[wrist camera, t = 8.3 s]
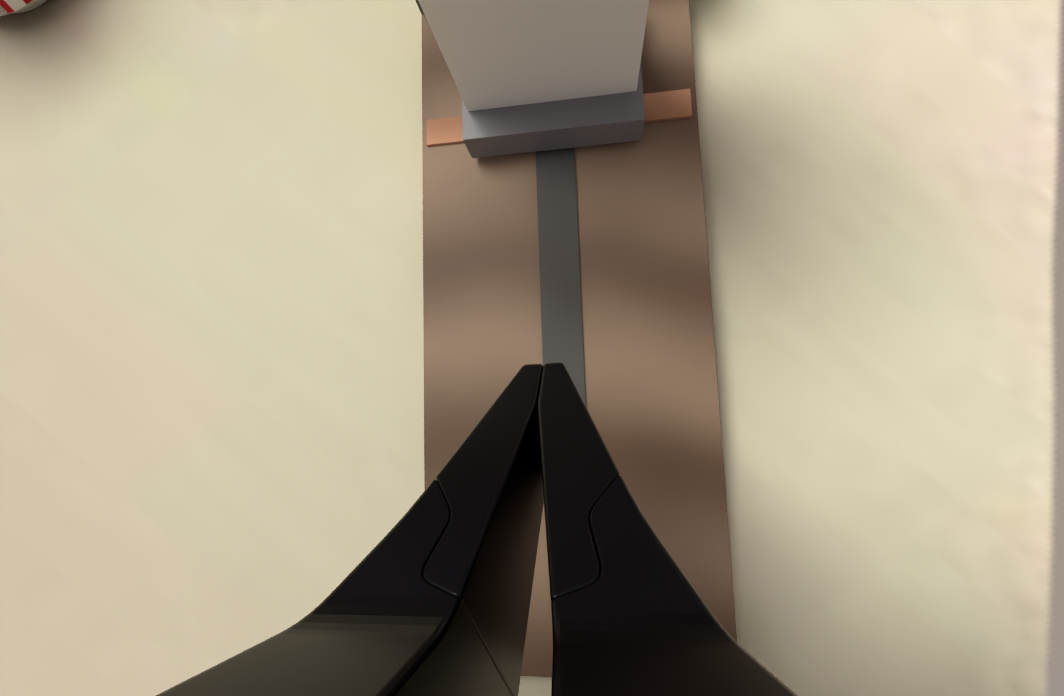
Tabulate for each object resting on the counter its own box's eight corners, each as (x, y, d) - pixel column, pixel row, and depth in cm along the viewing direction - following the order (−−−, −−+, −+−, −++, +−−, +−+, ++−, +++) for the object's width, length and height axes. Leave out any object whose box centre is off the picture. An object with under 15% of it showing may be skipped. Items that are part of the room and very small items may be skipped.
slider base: (728, 663, 15) (780, 768, 11) (438, 650, 16) (384, 738, 12) (677, -45, 18) (702, -179, 13) (432, -6, 19) (386, -118, 15)
